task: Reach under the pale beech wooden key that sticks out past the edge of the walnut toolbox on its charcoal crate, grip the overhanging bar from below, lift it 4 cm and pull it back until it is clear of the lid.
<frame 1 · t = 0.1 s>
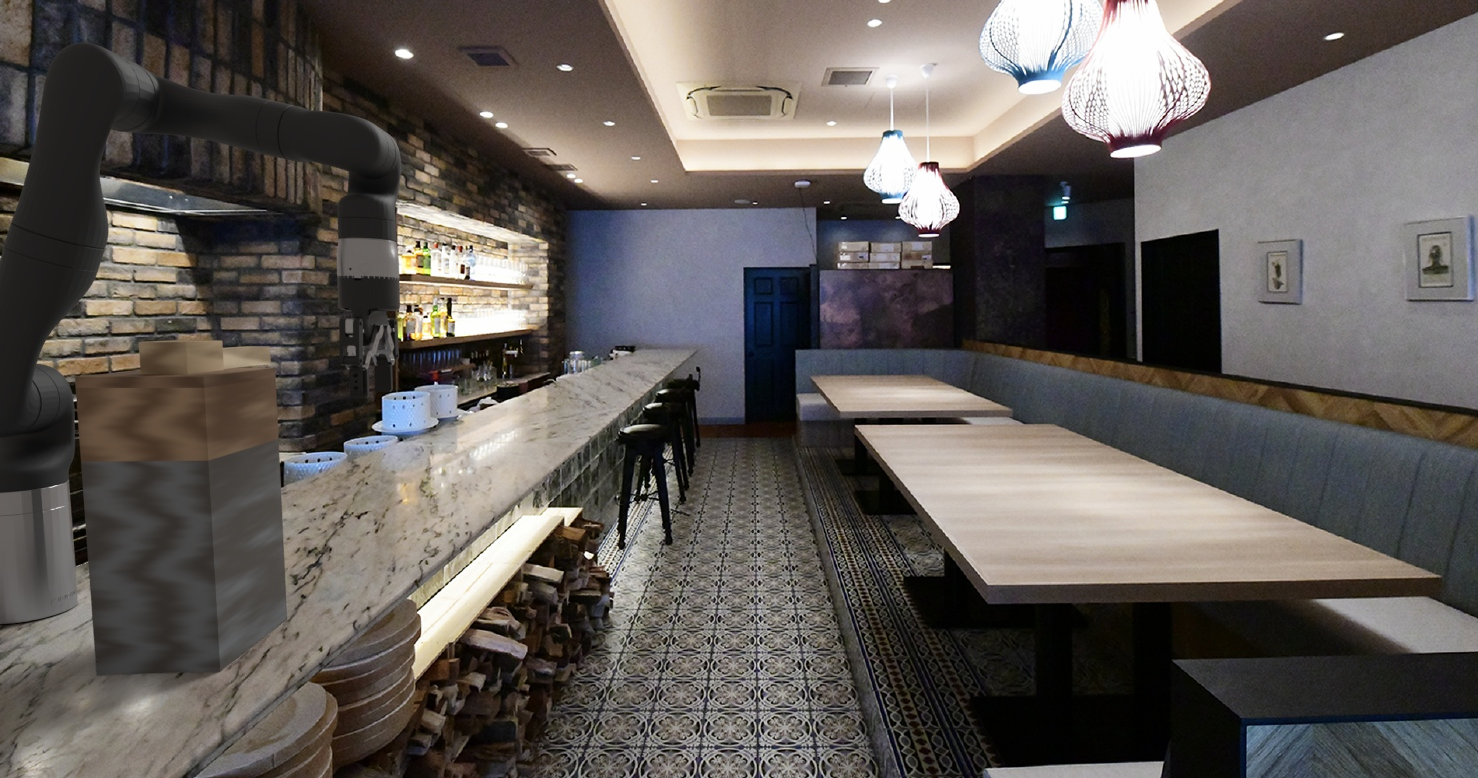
hand: (372, 395, 104), 29 cm above the worktop, tool pointing down, fingers open, 8 cm apart
toolbox stand: (200, 644, 92), on the worktop
wooden key: (202, 370, 93), point 33 cm above the worktop, touching toolbox stand
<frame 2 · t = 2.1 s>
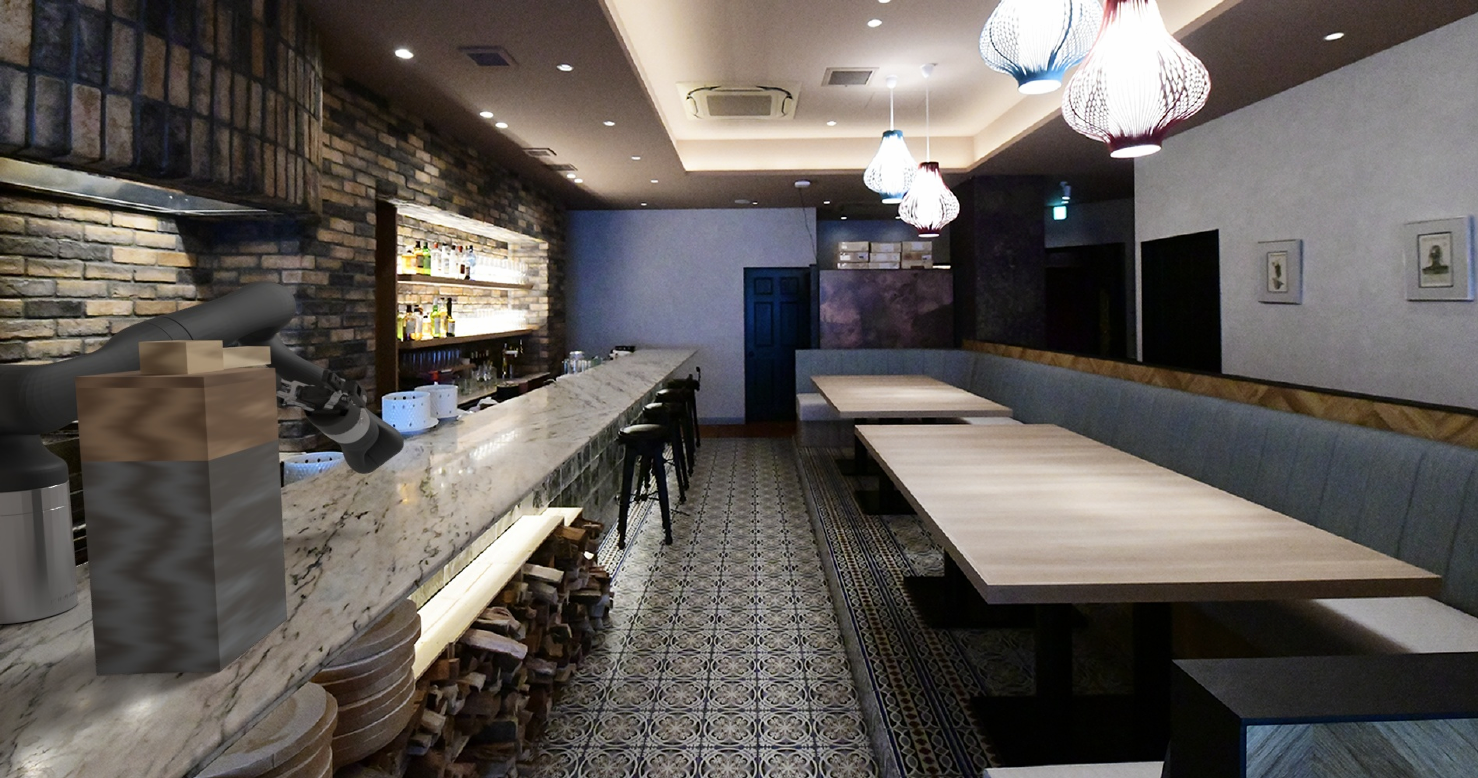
hand: (295, 374, 116), 31 cm above the worktop, tool pointing upward, fingers open, 8 cm apart
nothing on the worktop moved.
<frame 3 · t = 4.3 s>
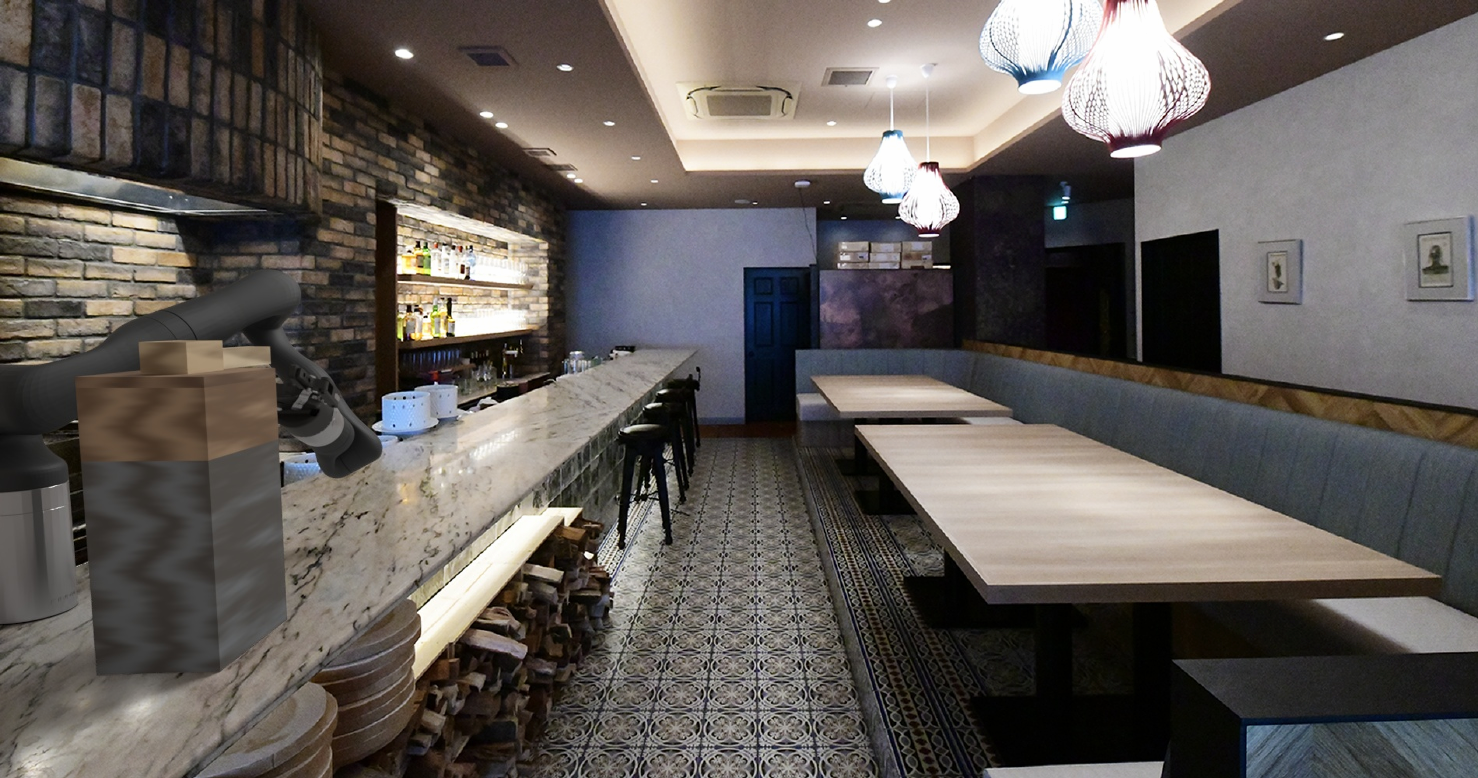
hand: (260, 370, 106), 32 cm above the worktop, tool pointing upward, fingers open, 8 cm apart
nothing on the worktop moved.
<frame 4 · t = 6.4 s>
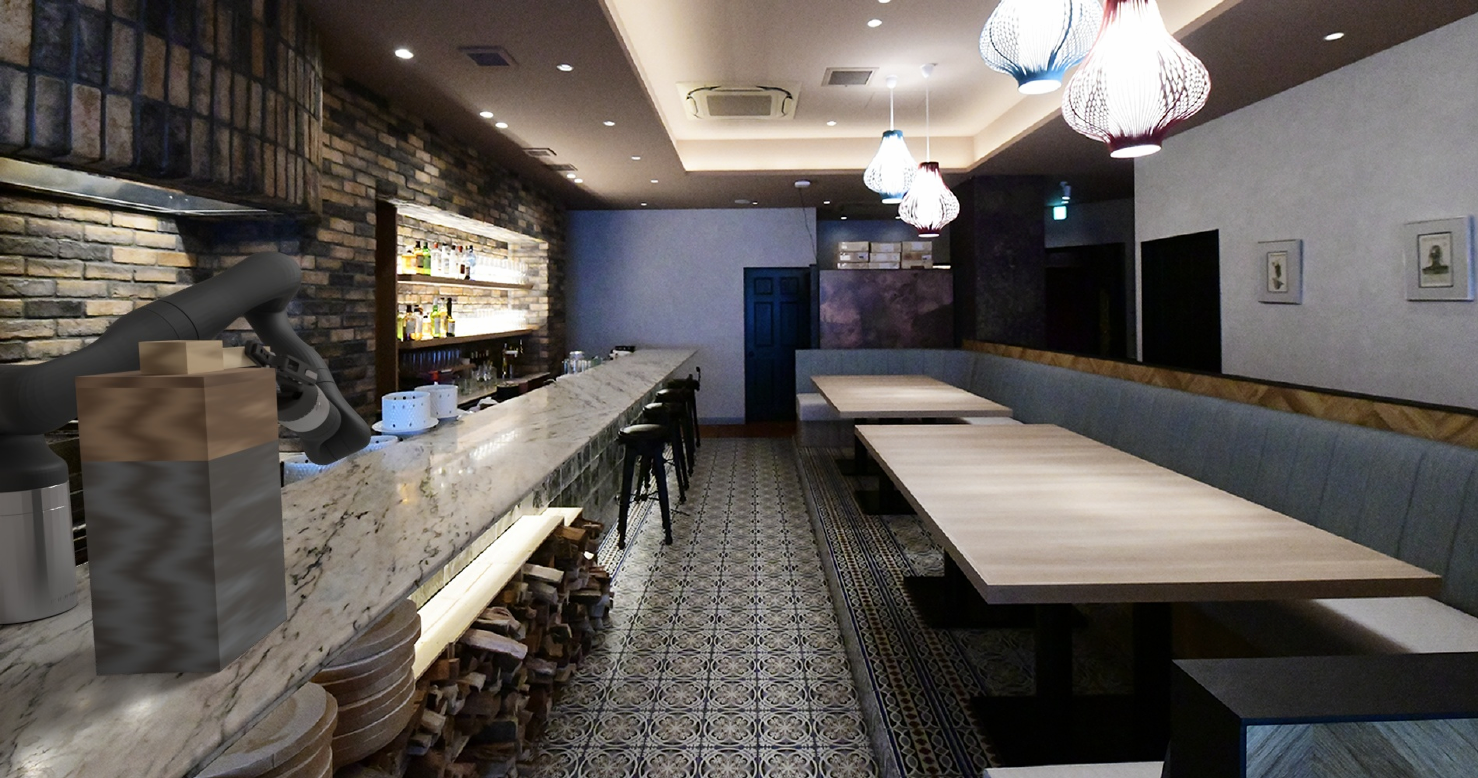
hand: (234, 346, 99), 36 cm above the worktop, tool pointing upward, fingers closed on wooden key, 3 cm apart
wooden key: (202, 370, 93), point 33 cm above the worktop, touching gripper, toolbox stand
everything else where it was.
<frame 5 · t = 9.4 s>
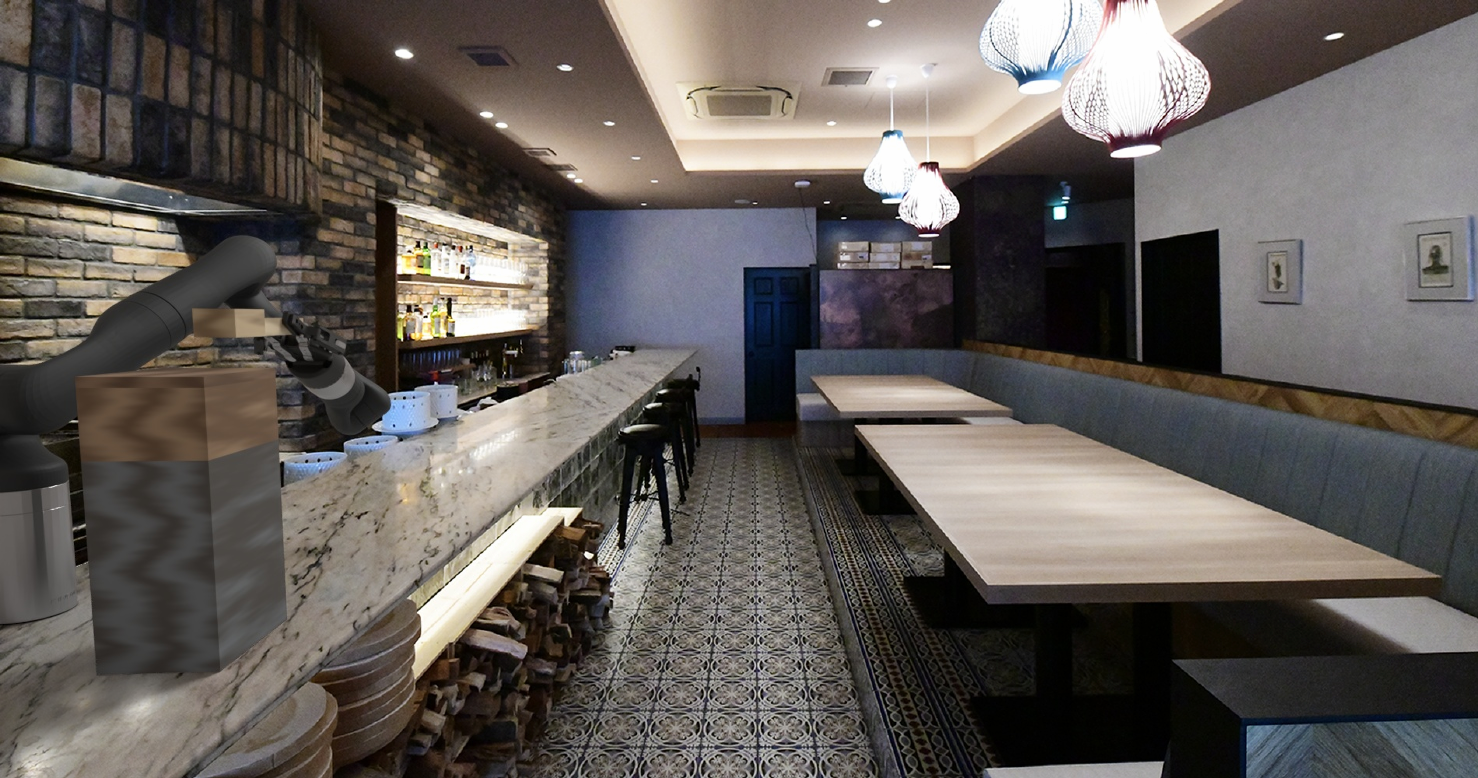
hand: (272, 316, 109), 40 cm above the worktop, tool pointing upward, fingers closed on wooden key, 3 cm apart
wooden key: (246, 336, 102), point 37 cm above the worktop, touching gripper
everything else where it was.
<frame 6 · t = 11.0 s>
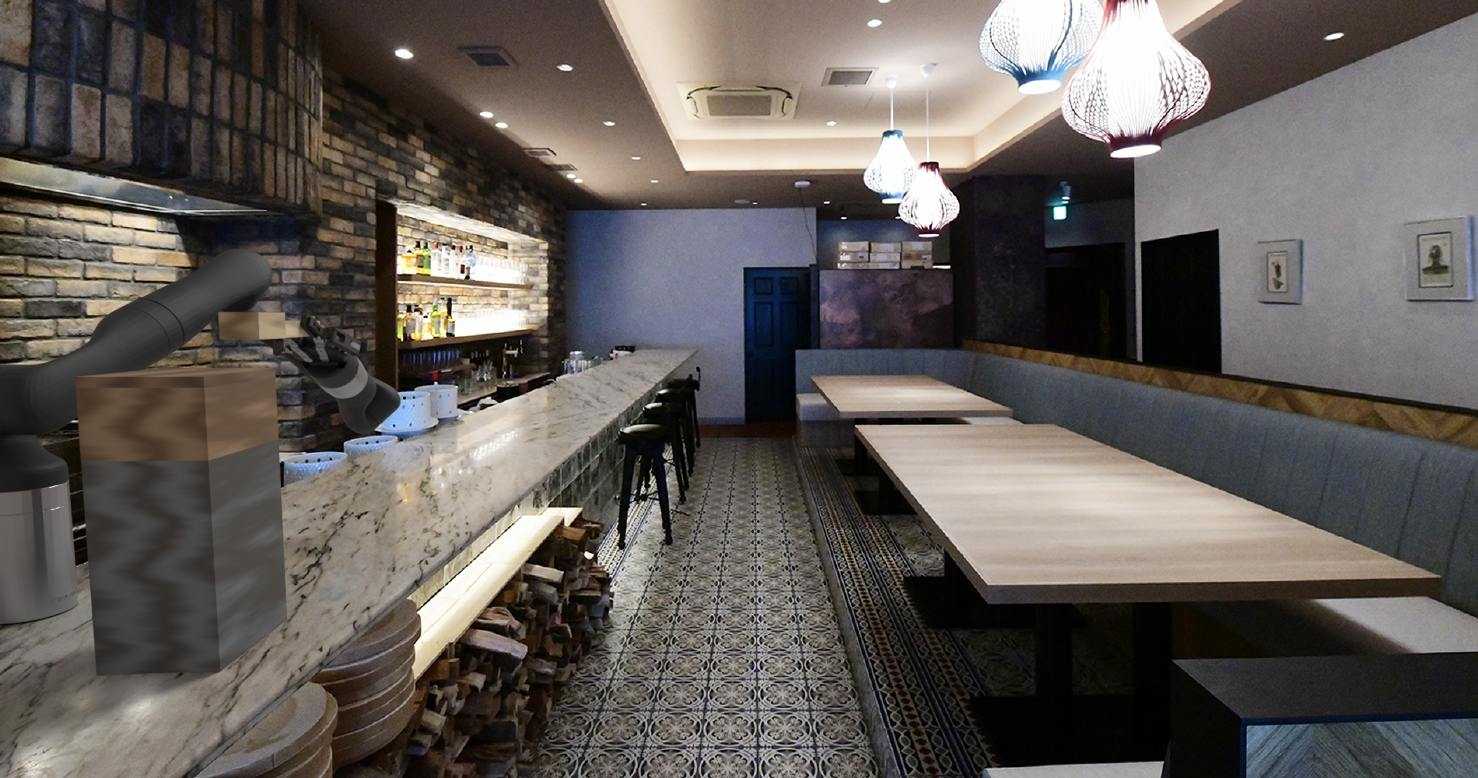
hand: (291, 319, 114), 39 cm above the worktop, tool pointing upward, fingers closed on wooden key, 3 cm apart
wooden key: (267, 337, 108), point 37 cm above the worktop, touching gripper
everything else where it was.
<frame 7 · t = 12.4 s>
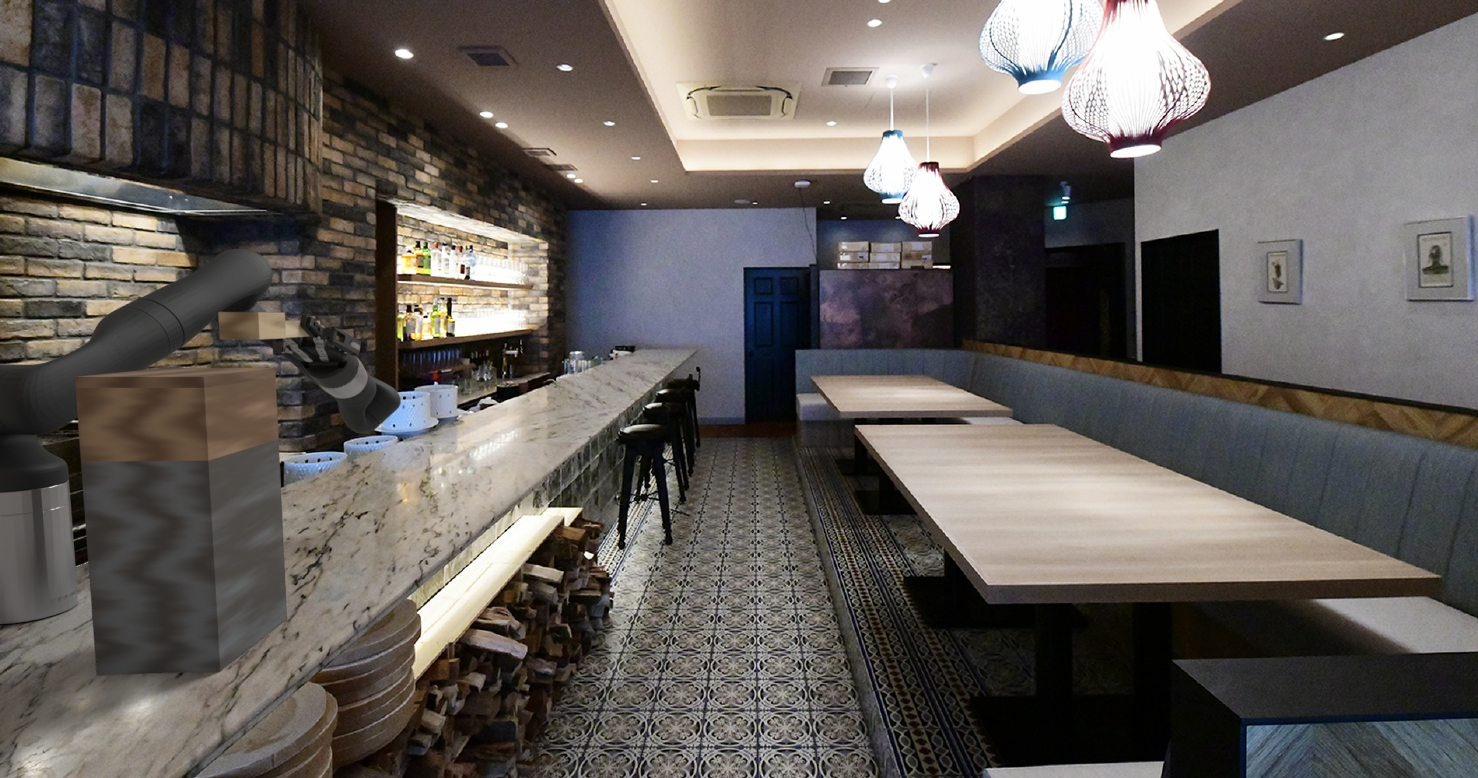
hand: (291, 319, 114), 39 cm above the worktop, tool pointing upward, fingers closed on wooden key, 3 cm apart
wooden key: (267, 337, 108), point 37 cm above the worktop, touching gripper
everything else where it was.
at the end: wooden key moved 15.9 cm from its start; wooden key touching gripper; the gripper is holding wooden key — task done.
